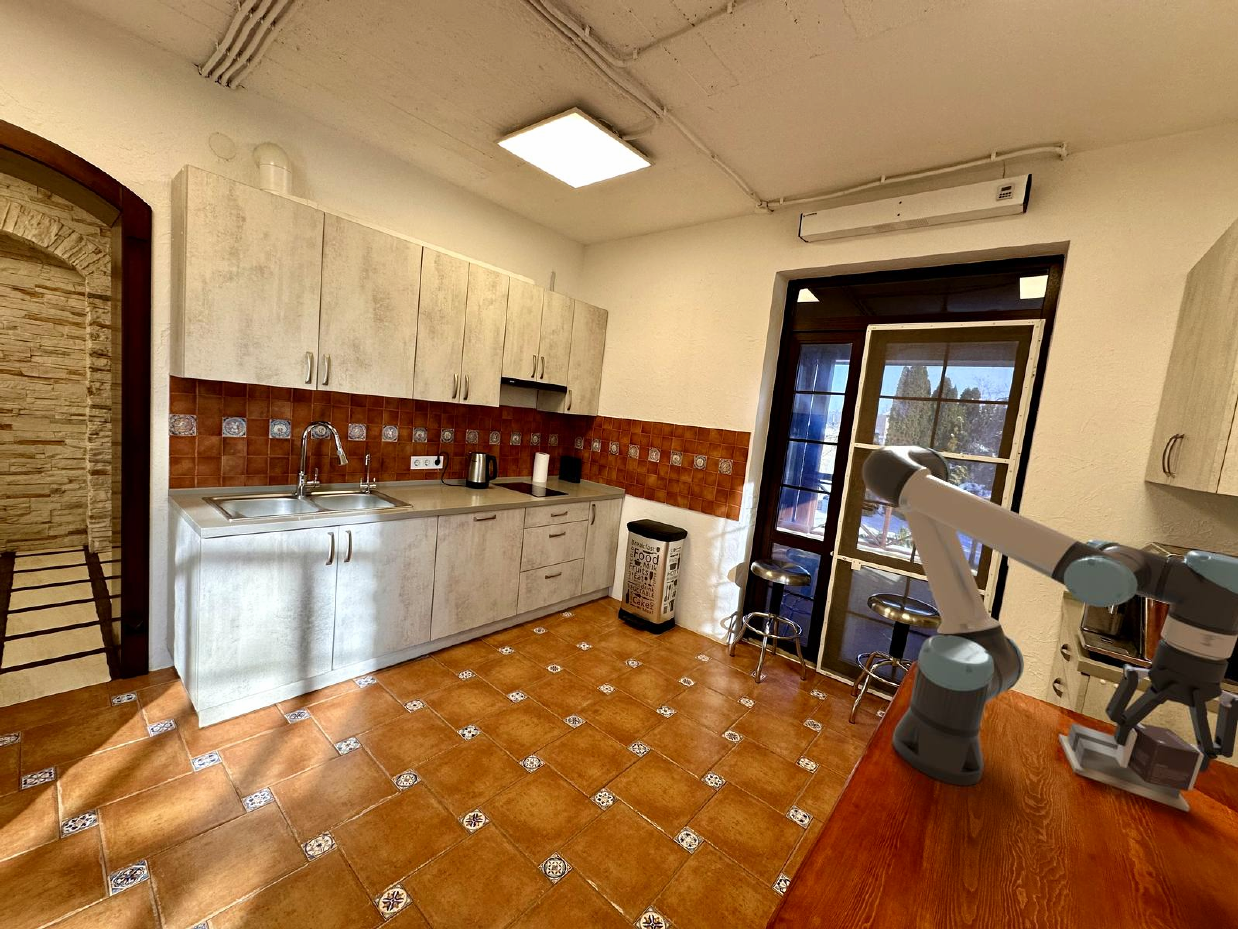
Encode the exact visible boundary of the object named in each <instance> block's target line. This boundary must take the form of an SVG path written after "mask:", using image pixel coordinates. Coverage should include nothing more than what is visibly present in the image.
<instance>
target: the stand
mask: <svg viewBox="0 0 1238 929" xmlns="http://www.w3.org/2000/svg"><path fill="white" fill-rule="evenodd" d="M1058 740H1059V743H1060V745H1061V747H1062V749H1063V751H1064V753H1065V755H1066V757H1067V760H1068V763H1069V764H1070V766H1071V768H1072V771H1073V773H1075V774H1078V775H1080V776H1083V777H1087V778H1088V779H1093V780H1094V781H1099V783H1100V782H1101V783H1103V784H1106V785H1109V786H1113V787H1115V788H1118V789H1121V790H1124V791H1126V792H1129V793H1132V794H1136V795H1138V796H1141V797H1144V798H1147V799H1150V800H1153V801H1156V802H1158V803H1160V804H1161V803H1162V804H1165V805H1166V806H1170V807H1173V808H1176V809H1179V810H1181V811H1185V812H1188V813H1189V812H1190V806H1189V804H1188V802H1187V801H1186V800H1185V798H1184V796H1182V794H1181V790H1177V789H1172V788H1168V787H1163V786H1158V785H1154V784H1149V783H1146V782H1145V781H1144V780H1142V779H1141V778H1140V777H1139V776H1138V775H1137V774H1136V773H1135V772H1134V771H1133V770H1132V769H1131V768H1130V767H1129V766H1127V768H1125V767H1122V766H1120V764H1119V763H1118V761H1117V759H1116V757H1115V754H1116V751H1117V748H1118V745H1119V744H1117V743H1116V741H1115V739H1114V735H1111V734H1108V733H1106V732H1102V731H1099V730H1096V729H1092V728H1089V727H1087V726H1086V727H1085V726H1083V725H1079V724H1077V723H1073V722H1071V724H1070V728H1069V731H1068V735H1063V734H1061V733H1059V734H1058Z"/></svg>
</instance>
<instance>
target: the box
mask: <svg viewBox="0 0 1238 929" xmlns="http://www.w3.org/2000/svg"><path fill="white" fill-rule="evenodd" d="M1134 730H1135V731H1136V733H1137V737H1136V740H1135V743H1134V746H1133V749H1132V752H1131V755H1130V759H1129V762H1128V765H1127V766H1129V767H1130V768H1131V769H1132V770H1133V771H1134V772H1135V773H1136V774H1137V775H1138V776H1139V777H1140V778H1141V779H1142V780H1144V781H1145V782H1146V783H1149V784H1154V785H1158V786H1163V787H1168V788H1172V789H1177V790H1181V791H1182V792H1188V791H1189V789H1188V788H1189V785H1190V782H1191V779H1192V776H1193V773H1194V770H1195V767H1196V764H1197V761H1198V757H1199V755H1200V752H1199V751H1197V750H1196V749H1195V748H1193V747H1192V746H1191V745H1189V744H1190V743H1188V742H1187V741H1186V740H1184V739H1183V738H1182V737H1180V735H1178V734H1177V733H1175V731H1173V730H1172V729H1170V728H1167V727H1161V726H1156V725H1150V724H1144V723H1141V722H1139V723H1138V724H1137V725H1136V726H1135V727H1134ZM1181 791H1180V792H1181Z"/></svg>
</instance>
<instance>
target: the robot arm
mask: <svg viewBox="0 0 1238 929" xmlns="http://www.w3.org/2000/svg"><path fill="white" fill-rule="evenodd" d="M861 473H862V476H861V477H862V480H863V483H864V484H865V486H866V488H867V489H868V490H869V491H870V492H871V493H872V494H874V495H875V496H877V497H878V498H880V499H881V500H883V501H886V502H887V503H889V504H891V505H892V506H893V508H894V510H895V511H896V512H898V513H900V514H902V515H903V516H904V518H905V520H906V523H907V525H908V526H907V527H908V528H909V532H910V534H911V537H912V540H913V543H914V546H915V549H916V551H917V554H918V557H919V560H920V562H921V563H920V564H921V566H922V568H923V571H924V574H925V576H926V580H927V583H928V585H929V587H930V591H931V593H932V596H933V599H934V603H935V605H936V608H937V611H938V613H939V617H940V619H941V620H940V621H941V623H940V625H939V626H938V628H937V630H936V631H937V635H933V636H930V637H928V638H926V640H925V641H924V642H923V644H922V645H921V648H920V651H919V654H918V657H917V667H916V670H915V676H914V681H913V685H912V692H911V697H910V703H909V706H908V708H907V710H906V712H905V713H904V715H903V716H902V717H901V718H900V720H899V721H898V723H897V725H896V726H895V728H894V729H893V730H894V731H893V735H892V736H893V737H892V744H893V746H894V749H895V750H896V752H897V753H898V754H899V755H900V757H901V758H902V759H904V761H906V762H907V763H908V764H910V765H911V766H912V767H913V768H915V769H916V770H918V771H920V772H921V773H923V774H925V775H927V776H929V777H931V778H933V779H935V780H938V781H941V782H943V783H944V782H945V783H947V784H951V785H956V786H971V785H974V784H977V783H979V782H980V780H981V779H982V775H983V771H984V760H983V755H982V754H983V753H982V749H981V748H982V747H981V742H980V736H979V733H980V728H981V725H982V720H983V715H984V713H985V708H986V705H987V704H988V703H989V702H991V701H992V700H993V699H995V698H997V697H998V696H1000V695H1001V694H1003V693H1004V692H1007V691H1009V690H1011V689H1012V688H1013V687H1014V686H1015V685H1016V684H1017V683H1018V682H1019V680H1020V678H1021V677H1022V675H1023V672H1024V670H1025V668H1024V666H1025V662H1024V656H1023V654H1022V652H1021V650H1020V648H1019V646H1018V645H1017V644H1016V642H1015V641H1014V640H1012V638H1009V637H1008V636H1007V635H1005V632H1004V630H1003V628H1002V625H1001V622H1000V621H998V620H997V619H995V618H993V617H992V616H990V615H989V614H988V612H987V609H986V606H985V602H984V600H983V598H982V595H981V593H980V590H979V587H978V584H977V582H976V580H975V577H974V574H973V571H972V569H971V567H970V564H969V561H968V559H967V556H966V553H965V551H964V547H963V546H962V543H961V540H960V537H959V535H958V533H959V534H962V535H964V536H966V537H968V538H970V539H972V540H974V541H976V542H978V543H979V544H982V545H983V546H985V547H988V548H990V549H992V550H994V551H996V552H997V553H999V554H1001V555H1004V556H1006V557H1007V558H1009V559H1012V560H1014V561H1016V562H1018V563H1020V564H1022V565H1024V566H1026V567H1028V568H1029V569H1032V570H1034V571H1036V572H1037V573H1039V574H1041V575H1043V576H1046V577H1047V578H1049V579H1051V580H1054V581H1056V582H1058V583H1059V584H1061V585H1063V586H1064V587H1065V588H1066V589H1067V591H1068V592H1069V594H1070V595H1072V597H1073V598H1075V600H1077V601H1079V602H1080V603H1081V602H1082V603H1083V604H1085V605H1088V606H1092V607H1096V608H1107V607H1113V606H1117V605H1121V604H1123V603H1124V604H1125V603H1126V602H1128V601H1129V600H1131V599H1132V598H1133V597H1134V596H1135V595H1138V596H1142V597H1145V598H1148V599H1151V600H1155V601H1157V602H1162V603H1166V604H1168V605H1169V609H1168V612H1167V615H1166V619H1165V621H1164V624H1163V627H1162V629H1161V632H1160V636H1161V637H1162V638H1161V639H1159V640H1158V641H1157V645H1156V649H1155V652H1154V655H1153V658H1152V662H1151V664H1150V665H1148V666H1147V667H1146V668H1142V667H1133V666H1132V665H1131V664H1129V663H1126V664H1123V666H1122V677H1121V679H1120V681H1119V683H1118V685H1117V687H1116V689H1115V691H1114V693H1113V695H1112V696H1111V698H1110V699H1109V702H1108V704H1107V706H1106V707H1105V710H1104V712H1105V714H1106V715H1107V717H1108V718H1109V720H1110V721H1111V722H1113V723H1116V724H1117V725H1116V728H1115V731H1114V734H1113V736H1114V739H1115V741H1116V743H1117V744H1119V745H1118V748H1117V751H1116V754H1115V757H1116V759H1117V761H1118V763H1119V764H1120V766H1122V767H1125V768H1127V765H1128V762H1129V759H1130V755H1131V752H1132V749H1133V746H1134V743H1135V740H1136V737H1137V733H1136V731H1135V730H1134V727H1135V726H1136V725H1137V724H1138V723H1141V722H1142V721H1143V720H1144V719H1146V717H1148V715H1150V714H1151V713H1152V712H1153V711H1154V710H1155V709H1156V708H1158V706H1160V705H1163V704H1165V703H1166V702H1167V701H1169V702H1172V703H1173V702H1174V703H1180V704H1183V705H1184V706H1187V707H1188V710H1189V715H1190V720H1191V724H1192V728H1193V733H1194V736H1195V741H1196V744H1192V743H1188V744H1189V745H1191V746H1192V747H1193V748H1195V749H1196V750H1197V751H1199V752H1200V755H1199V757H1198V761H1197V764H1196V767H1195V770H1194V773H1193V776H1192V779H1191V782H1190V785H1189V788H1188V791H1192V790H1193V788H1194V785H1195V782H1196V780H1197V776H1198V774H1199V772H1201V773H1206V772H1207V771H1208V770H1209V766H1210V764H1211V760H1217V758H1218V756H1223V757H1224V758H1226V759H1231V758H1232V757H1233V756H1234V750H1235V742H1236V735H1237V729H1238V694H1237V693H1235V692H1232V691H1231V692H1228V691H1225V690H1223V689H1222V687H1221V683H1222V681H1223V680H1224V677H1225V674H1226V672H1227V668H1228V666H1229V662H1228V661H1227V659H1229V658H1231V656H1232V654H1233V651H1234V648H1235V645H1236V642H1237V639H1238V558H1237V557H1232V556H1230V555H1225V554H1220V553H1214V552H1209V551H1205V550H1204V551H1203V550H1190V551H1188V552H1187V553H1186V555H1185V556H1184V557H1183V558H1179V557H1176V558H1175V557H1170V556H1167V555H1163V554H1159V553H1156V552H1155V553H1154V552H1150V551H1147V550H1143V549H1139V548H1135V547H1131V546H1127V545H1123V544H1120V543H1119V542H1115V541H1111V542H1110V541H1106V540H1102V539H1101V540H1100V539H1097V538H1093V539H1089V540H1087V541H1086V542H1085V543H1084V542H1081V541H1080V540H1078V539H1076V538H1073V537H1071V536H1069V535H1068V534H1064V533H1063V532H1060V531H1058V530H1056V529H1053V528H1051V527H1049V526H1046V525H1044V524H1042V523H1040V522H1037V521H1035V520H1033V519H1031V518H1028V517H1026V516H1024V515H1021V514H1019V513H1018V512H1014V511H1012V510H1010V509H1008V508H1005V507H1004V506H1001V505H999V504H996V503H995V502H992V501H990V500H987V499H986V498H983V497H981V496H979V495H976V494H973V493H972V492H969V491H967V490H965V489H963V488H961V487H958V486H956V485H953V484H951V483H949V480H950V479H951V468H950V465H949V463H948V461H947V460H946V458H945V457H944V456H943V454H942V453H940V452H938V451H937V450H935V449H932V448H929V447H926V446H922V445H907V446H906V445H904V446H902V445H887V446H883V447H880V448H878V449H876V450H874V451H872V452H871V453H869V455H868V456H867V458H866V459H865V460H864V462H863V465H862V470H861ZM1145 678H1148V679H1149V681H1150V682H1151V683H1150V684H1149V685H1148V686H1147V687H1146V688H1145V690H1144V692H1143V694H1141V696H1139V697H1138V698H1137V699H1136V700H1135V701H1134V702H1133V703H1132V704H1131V705H1129V703H1130V702H1131V700H1132V698H1133V696H1134V694H1135V692H1136V690H1137V688H1138V687H1139V683H1142V682H1143V681H1144V679H1145ZM1217 698H1218V699H1217ZM1214 699H1217V701H1218V702H1219V705H1218V710H1217V718H1216V726H1215V733H1214V737H1212V733H1211V728H1210V725H1209V719H1208V709H1207V705H1206V703H1208V702H1210V701H1212V700H1214ZM1128 705H1129V706H1128ZM1213 738H1214V739H1213Z"/></svg>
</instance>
